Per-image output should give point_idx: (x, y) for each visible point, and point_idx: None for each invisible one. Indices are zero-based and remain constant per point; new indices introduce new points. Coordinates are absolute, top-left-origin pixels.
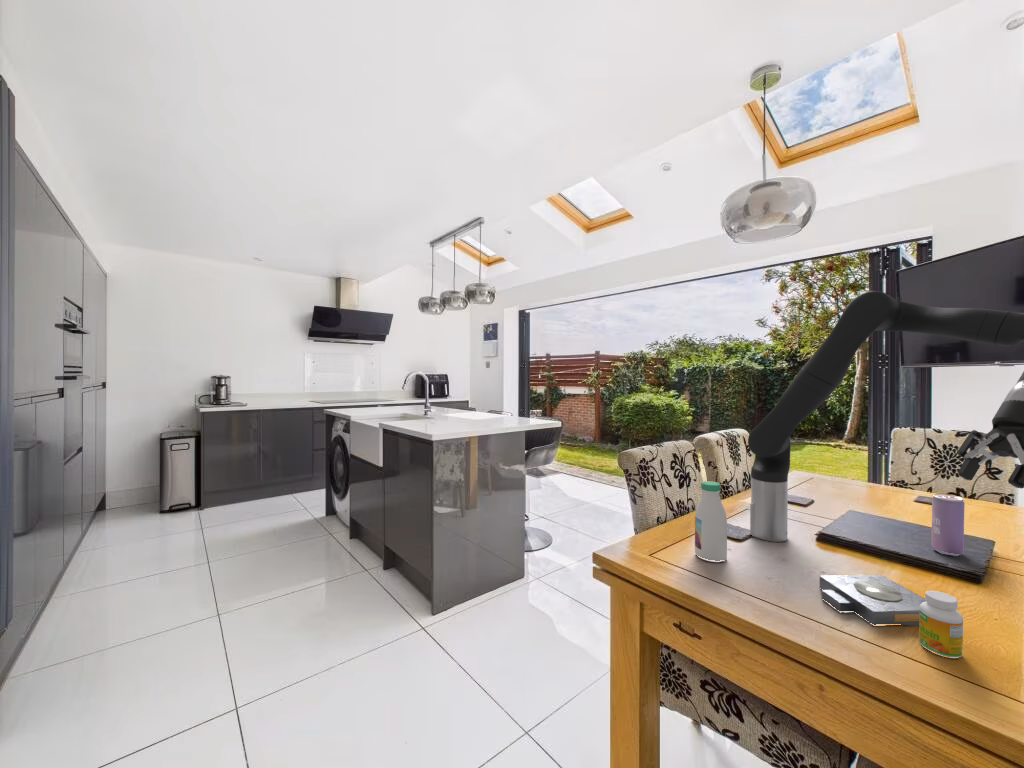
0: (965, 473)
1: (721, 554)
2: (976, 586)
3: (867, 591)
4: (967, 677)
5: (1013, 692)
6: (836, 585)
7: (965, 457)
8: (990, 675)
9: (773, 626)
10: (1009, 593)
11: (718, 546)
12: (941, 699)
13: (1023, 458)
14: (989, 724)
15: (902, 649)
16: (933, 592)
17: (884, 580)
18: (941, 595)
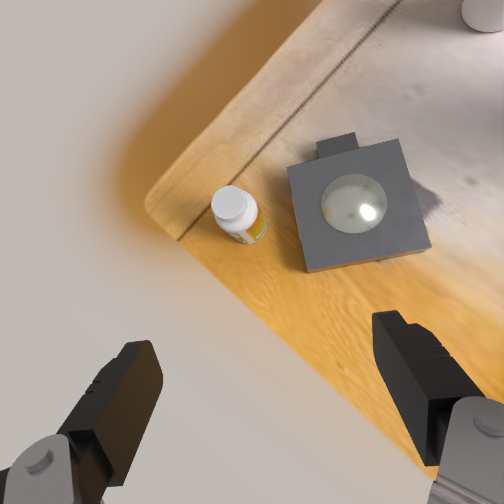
0: (381, 335)
1: (472, 8)
2: None
3: (344, 184)
4: (204, 221)
5: (186, 248)
6: (362, 150)
7: (484, 400)
8: (209, 247)
9: (272, 67)
10: None
11: None
12: (173, 175)
13: (37, 485)
14: (148, 194)
15: (244, 185)
16: (237, 198)
17: (402, 238)
18: (229, 204)
